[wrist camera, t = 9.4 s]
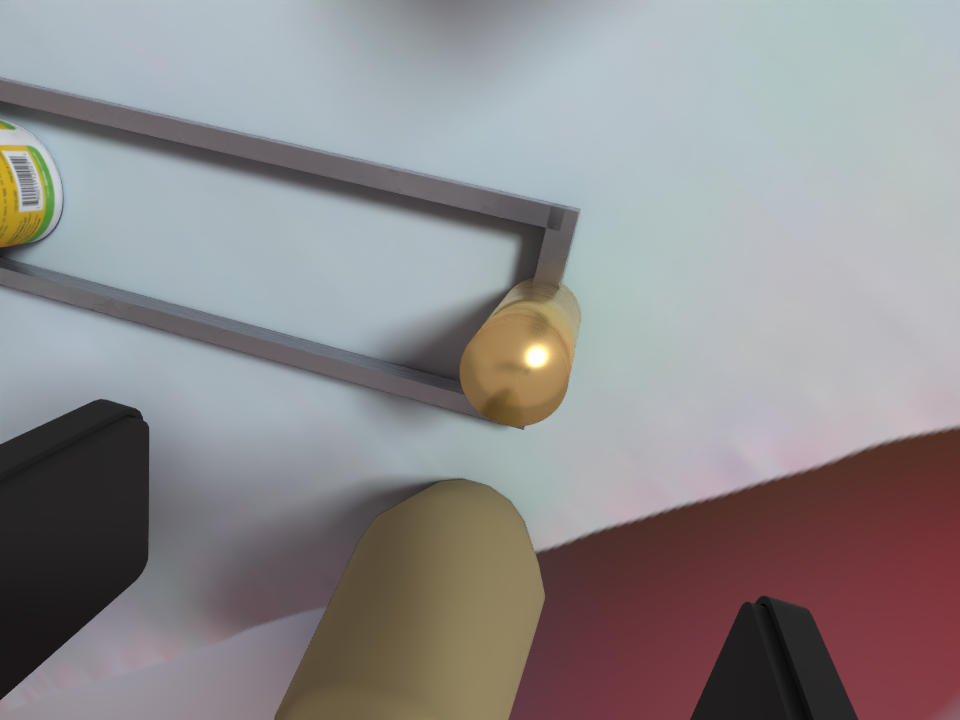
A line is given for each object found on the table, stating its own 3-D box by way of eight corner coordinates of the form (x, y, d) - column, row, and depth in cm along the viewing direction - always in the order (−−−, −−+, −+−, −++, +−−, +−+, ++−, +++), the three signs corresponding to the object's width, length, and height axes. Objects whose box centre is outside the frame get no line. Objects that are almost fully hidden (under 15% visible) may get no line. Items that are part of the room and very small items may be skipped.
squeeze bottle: (425, 617, 30) (193, 1185, 13) (357, 480, 28) (-6, 936, 12) (578, 586, 28) (527, 1232, 11) (514, 433, 26) (337, 926, 9)
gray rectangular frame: (552, 424, 25) (532, 516, 19) (-48, 259, 29) (-238, 288, 23) (609, 216, 22) (608, 238, 16) (-70, 61, 26) (-297, 28, 19)
